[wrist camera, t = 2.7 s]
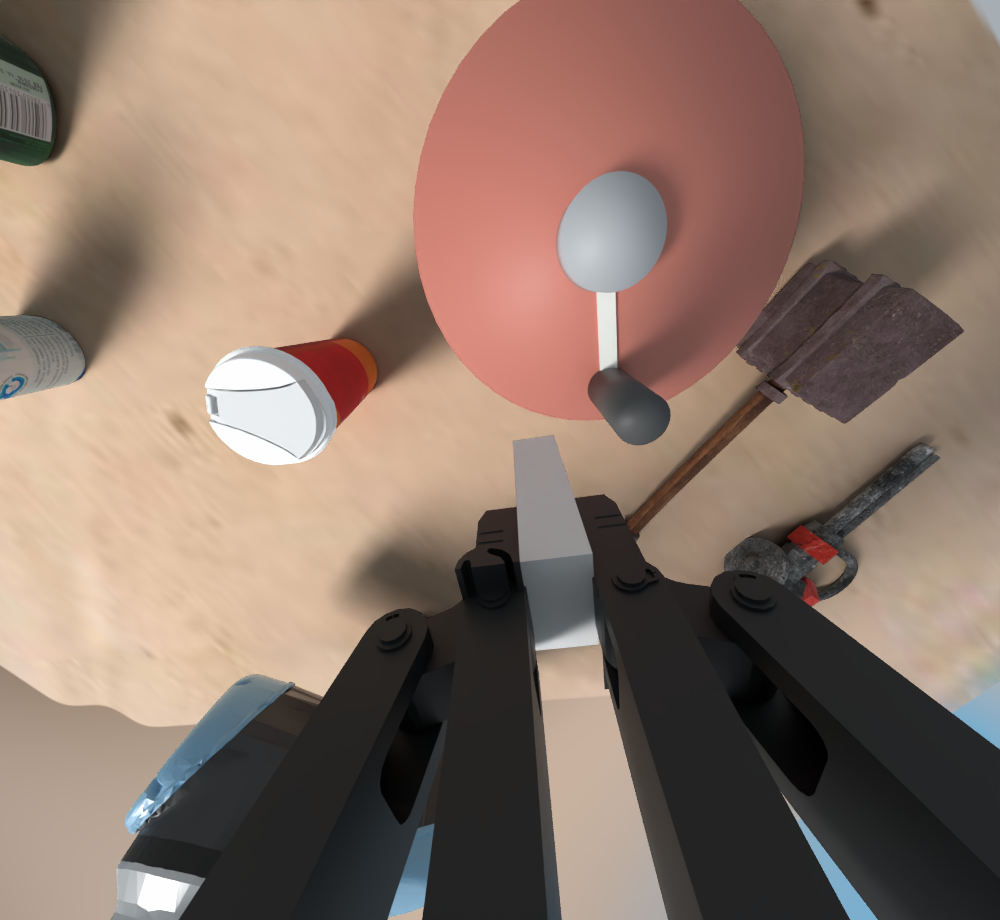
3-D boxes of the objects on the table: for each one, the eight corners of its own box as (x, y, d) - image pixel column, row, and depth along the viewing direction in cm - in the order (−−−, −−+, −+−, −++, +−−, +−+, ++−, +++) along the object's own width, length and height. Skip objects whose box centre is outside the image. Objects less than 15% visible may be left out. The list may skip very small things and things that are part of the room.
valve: (757, 616, 51) (690, 580, 46) (930, 477, 43) (875, 412, 38) (795, 659, 46) (725, 624, 40) (1003, 508, 38) (951, 438, 32)
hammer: (868, 296, 31) (984, 330, 23) (620, 530, 49) (635, 596, 41) (810, 253, 30) (911, 273, 21) (576, 509, 48) (583, 573, 39)
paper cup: (307, 399, 36) (202, 460, 24) (306, 317, 33) (184, 336, 20) (387, 415, 37) (327, 482, 24) (394, 336, 34) (329, 365, 21)
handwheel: (389, 71, 20) (290, -118, 11) (774, -15, 19) (1050, -320, 9) (463, 420, 28) (444, 485, 19) (733, 379, 27) (855, 427, 18)
